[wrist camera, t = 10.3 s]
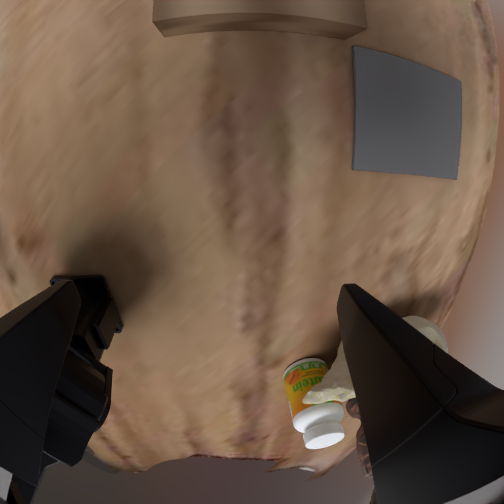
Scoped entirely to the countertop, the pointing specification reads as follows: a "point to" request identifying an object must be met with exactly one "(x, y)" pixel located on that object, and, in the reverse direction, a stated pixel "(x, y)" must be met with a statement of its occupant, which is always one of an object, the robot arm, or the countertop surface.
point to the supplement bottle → (312, 405)
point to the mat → (404, 116)
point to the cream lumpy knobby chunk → (338, 377)
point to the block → (261, 16)
